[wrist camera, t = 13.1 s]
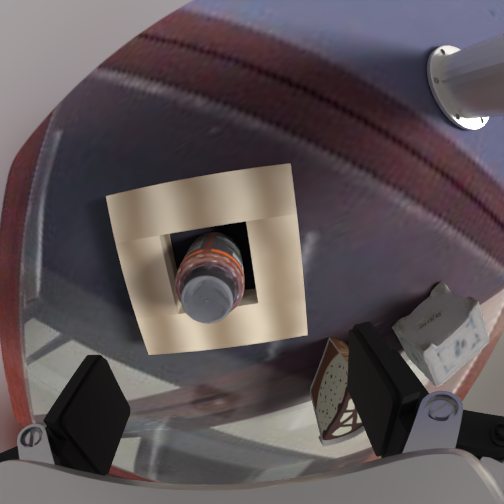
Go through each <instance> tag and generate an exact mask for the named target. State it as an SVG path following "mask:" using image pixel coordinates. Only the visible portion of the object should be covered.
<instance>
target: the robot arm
mask: <svg viewBox="0 0 504 504" xmlns="http://www.w3.org/2000/svg"><path fill="white" fill-rule="evenodd" d="M427 77H428V82H429V86H430V89H431V92H432V94H433V96H434V98H435V101H436V102H437V104H438V106H439V107H440V109H441V110H442V112H443V113H444V114H445V116H446V117H447V118H448V119H449V120H450V121H451V122H453V123H454V124H455V125H457V126H458V127H460V128H462V129H466V130H476V129H480V128H481V127H483V126H484V125H485V124H486V123H487V121H488V119H489V117H494V116H504V34H501V35H499V36H496V37H493V38H490V39H488V40H485V41H482V42H480V43H477V44H474V45H472V46H469V47H467V48H464V49H462V50H460V49H459V48H456V47H454V46H449V45H444V46H440V47H438V48H436V49H435V50H433V51H432V53H431V54H430V56H429V58H428V62H427ZM347 387H348V391H349V394H350V396H351V398H352V401H353V403H354V405H355V408H356V410H357V412H358V415H359V417H360V419H361V421H362V424H363V426H364V428H365V431H366V433H367V436H368V438H369V440H370V443H371V445H372V447H373V450H374V452H375V454H376V456H381V457H382V458H381V459H378V460H374V461H370V462H366V463H362V464H358V465H354V466H350V467H346V468H342V469H338V470H333V471H328V472H324V473H318V474H313V475H308V476H302V477H296V478H289V479H282V480H275V481H266V482H255V483H242V484H220V485H190V484H168V483H155V482H145V481H136V480H128V479H121V478H115V477H109V476H105V475H106V474H108V473H109V470H110V467H111V464H112V461H113V459H114V456H115V453H116V450H117V447H118V445H119V442H120V439H121V437H122V434H123V431H124V429H125V426H126V423H127V421H128V418H129V415H130V406H129V404H128V402H127V400H126V399H125V397H124V395H123V393H122V391H121V389H120V387H119V385H118V383H117V381H116V379H115V377H114V375H113V373H112V370H111V368H110V366H109V364H108V362H107V360H106V359H104V358H103V357H102V356H101V355H87V356H86V358H85V359H84V360H83V362H82V363H81V365H80V366H79V367H78V369H77V370H76V372H75V373H74V375H73V376H72V378H71V379H70V381H69V382H68V383H67V385H66V386H65V388H64V389H63V391H62V392H61V394H60V395H59V397H58V398H57V400H56V402H55V403H54V405H53V406H52V408H51V409H50V411H49V412H48V414H47V415H46V417H45V419H44V420H43V421H44V422H45V424H46V425H47V426H46V428H44V427H43V426H42V425H39V424H32V425H29V426H27V427H25V428H24V429H23V430H22V431H21V432H20V433H19V435H18V438H17V444H18V446H16V447H14V448H12V449H9V450H7V451H5V452H3V453H0V504H504V417H503V416H497V415H490V414H484V413H478V412H472V411H467V410H463V404H462V402H461V400H460V399H459V397H458V396H456V395H455V394H453V393H451V392H447V391H437V392H432V393H430V394H429V393H428V391H427V390H426V389H425V387H424V386H423V385H422V383H421V382H420V381H419V379H418V378H417V376H416V375H415V374H414V372H413V371H412V370H411V368H410V367H409V366H408V364H407V363H406V362H405V360H404V359H403V358H402V356H401V355H400V354H399V353H398V352H397V351H396V350H393V351H391V349H390V348H389V347H388V345H387V344H386V343H385V341H384V340H383V339H382V337H381V336H380V335H379V333H378V332H377V331H376V329H375V328H374V327H373V325H372V324H371V323H370V322H365V323H361V324H356V325H354V327H353V329H352V330H350V331H349V354H348V377H347Z"/></svg>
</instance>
